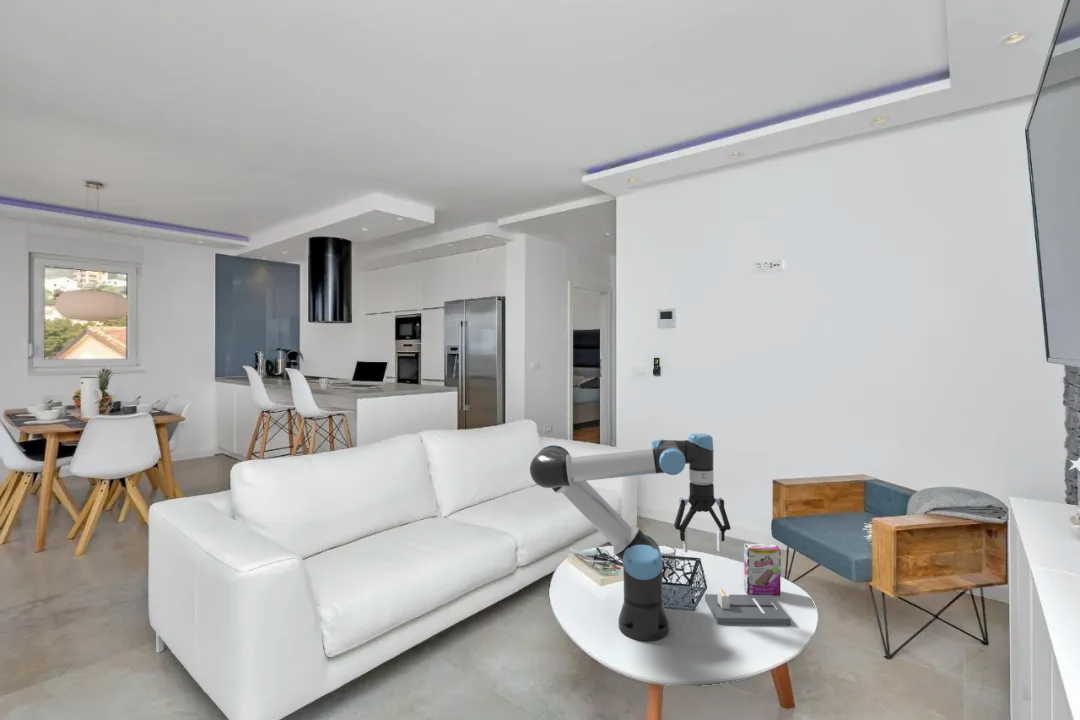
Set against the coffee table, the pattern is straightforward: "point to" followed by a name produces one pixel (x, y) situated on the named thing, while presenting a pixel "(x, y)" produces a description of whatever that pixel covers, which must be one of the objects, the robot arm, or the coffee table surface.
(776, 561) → the candy bar box
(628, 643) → the coffee table surface
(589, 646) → the coffee table surface
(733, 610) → the console
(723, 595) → the fader cap
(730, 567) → the coffee table surface
